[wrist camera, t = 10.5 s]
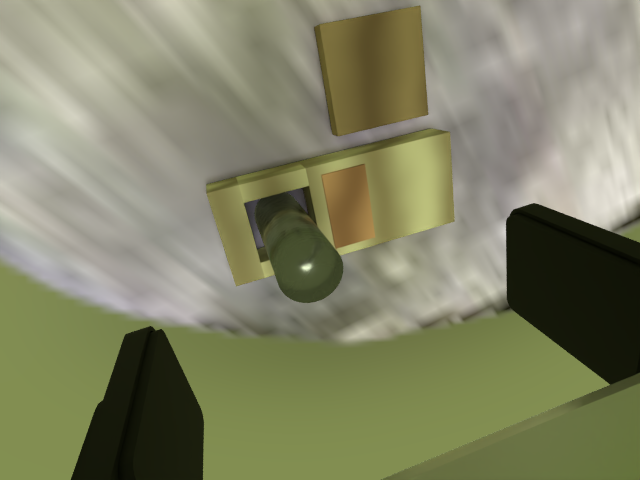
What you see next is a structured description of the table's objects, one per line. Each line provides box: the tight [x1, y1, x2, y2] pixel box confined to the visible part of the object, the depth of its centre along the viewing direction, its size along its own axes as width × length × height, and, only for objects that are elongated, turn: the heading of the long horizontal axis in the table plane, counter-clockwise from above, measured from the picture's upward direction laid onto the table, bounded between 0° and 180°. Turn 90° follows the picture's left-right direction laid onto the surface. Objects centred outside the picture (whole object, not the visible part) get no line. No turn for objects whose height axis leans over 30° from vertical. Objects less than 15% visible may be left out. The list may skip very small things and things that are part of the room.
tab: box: [314, 6, 428, 136], centre depth 31 cm, size 8×8×2 cm
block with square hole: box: [206, 129, 454, 286], centre depth 33 cm, size 20×8×3 cm, turn 101°
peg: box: [254, 192, 343, 303], centre depth 28 cm, size 4×4×12 cm
